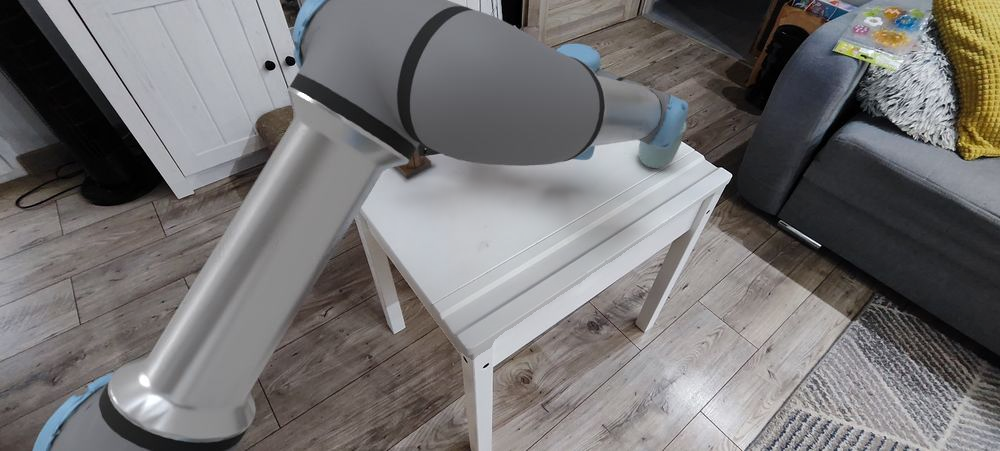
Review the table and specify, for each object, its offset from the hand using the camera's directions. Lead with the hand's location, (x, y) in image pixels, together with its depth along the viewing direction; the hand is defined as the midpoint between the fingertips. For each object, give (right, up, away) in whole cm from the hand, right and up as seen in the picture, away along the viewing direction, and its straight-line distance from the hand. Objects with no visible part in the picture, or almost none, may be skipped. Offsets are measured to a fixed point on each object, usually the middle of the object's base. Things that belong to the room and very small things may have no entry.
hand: (397, 110), depth 85 cm
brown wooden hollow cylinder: (+1, -8, +8) cm, 12 cm away
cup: (+52, -8, +12) cm, 53 cm away
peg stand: (+1, -9, +10) cm, 13 cm away
